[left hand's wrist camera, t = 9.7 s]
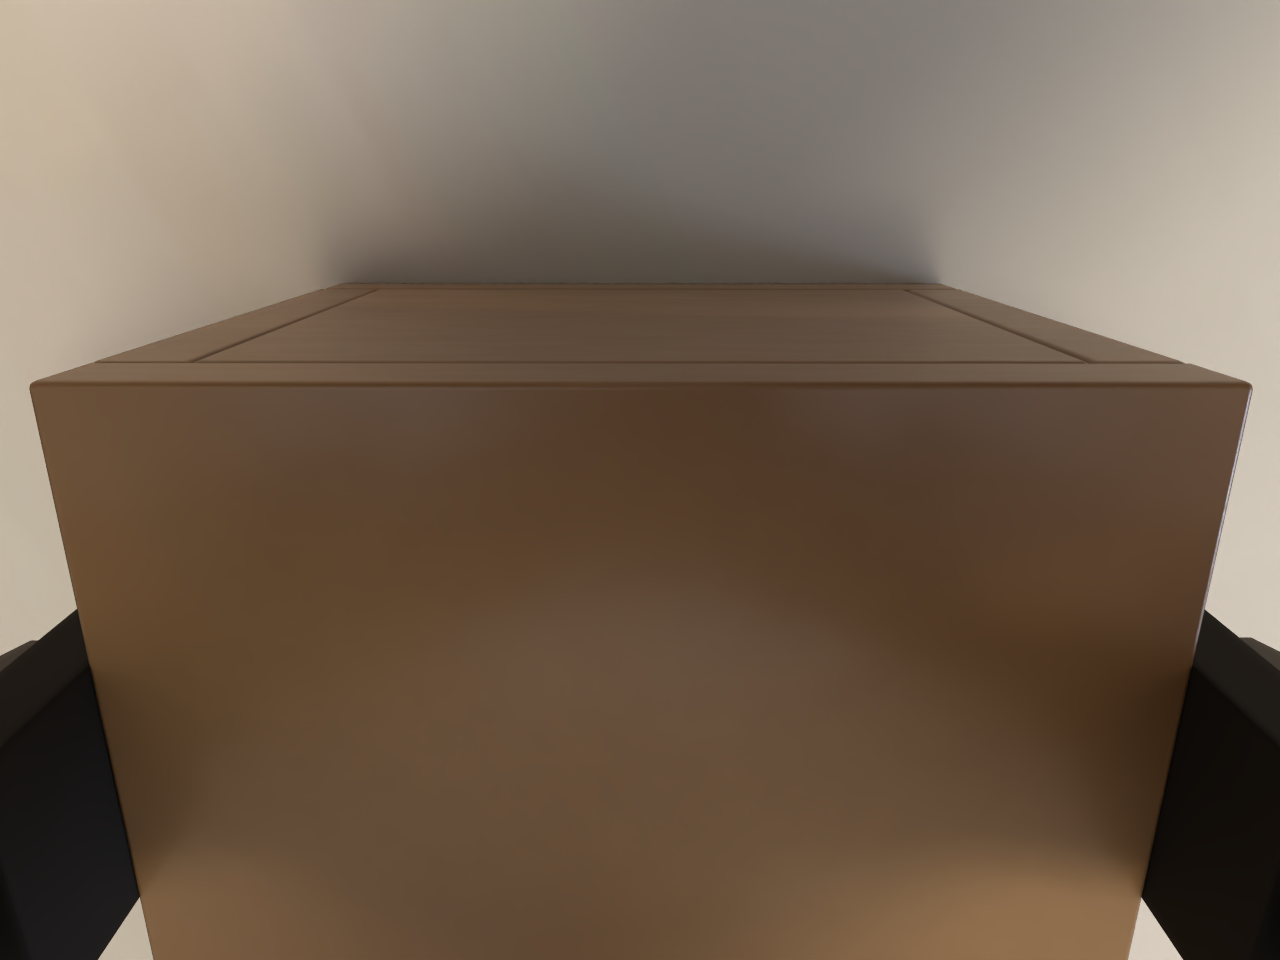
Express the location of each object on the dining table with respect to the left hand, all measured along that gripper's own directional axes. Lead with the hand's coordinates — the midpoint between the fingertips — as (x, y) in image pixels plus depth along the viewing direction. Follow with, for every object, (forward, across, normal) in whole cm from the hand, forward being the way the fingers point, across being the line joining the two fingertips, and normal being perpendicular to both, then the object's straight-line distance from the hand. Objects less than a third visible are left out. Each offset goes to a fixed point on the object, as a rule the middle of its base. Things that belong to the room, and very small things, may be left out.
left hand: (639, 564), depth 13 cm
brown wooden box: (+3, 0, -6) cm, 6 cm away
